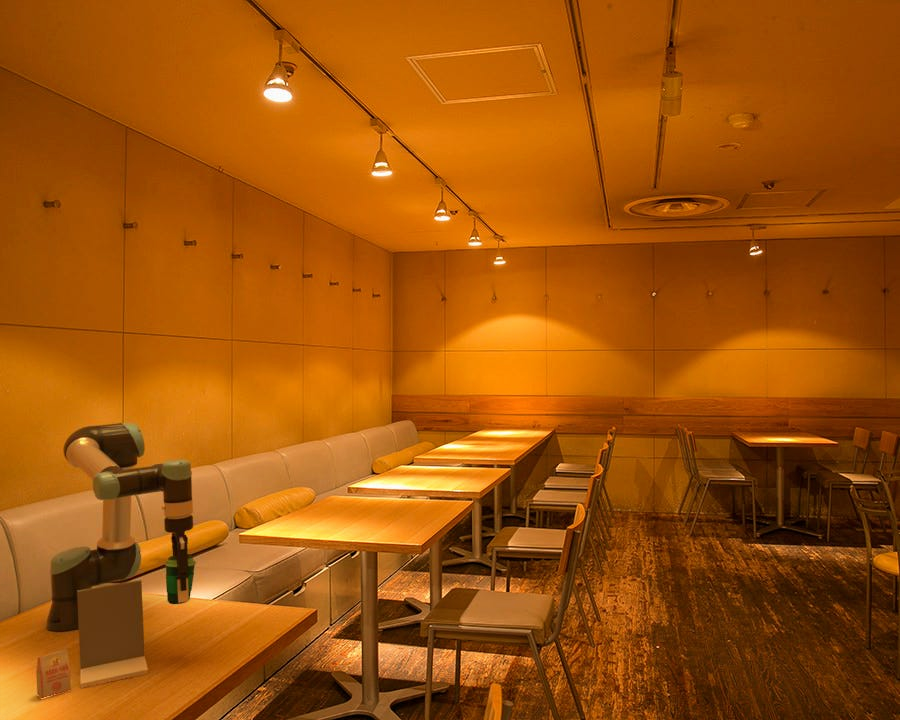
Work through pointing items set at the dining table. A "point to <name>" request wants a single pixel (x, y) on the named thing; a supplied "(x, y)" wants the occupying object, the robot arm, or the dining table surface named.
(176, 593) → the cup
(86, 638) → the stand
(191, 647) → the dining table surface
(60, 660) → the tea bag
